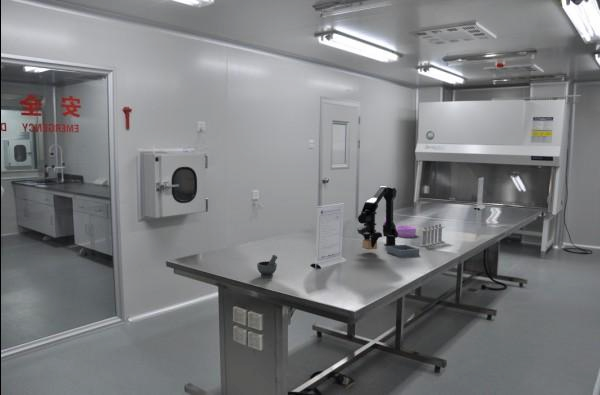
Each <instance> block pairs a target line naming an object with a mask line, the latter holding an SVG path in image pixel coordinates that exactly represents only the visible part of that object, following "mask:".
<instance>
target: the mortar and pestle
mask: <svg viewBox="0 0 600 395" xmlns="http://www.w3.org/2000/svg"><path fill="white" fill-rule="evenodd" d="M277 259H278V256H277V255H276V254H273V255H272V256H271V258H270V260H269V261H266V260H265V261H260V262H258V263H257V264H256V265H257V270H258V272H259V273H260V277H261V279H273V277H274V273H275V272H276V270H277V266H278V265H277V262H276V261H277Z"/></svg>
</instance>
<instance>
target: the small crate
mask: <svg viewBox="0 0 600 395" xmlns="http://www.w3.org/2000/svg"><path fill="white" fill-rule="evenodd" d="M362 248H363V249H365V250H377V249H378V240H377V241H376V243H375V245H374V247H372V245H371V239H362Z"/></svg>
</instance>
